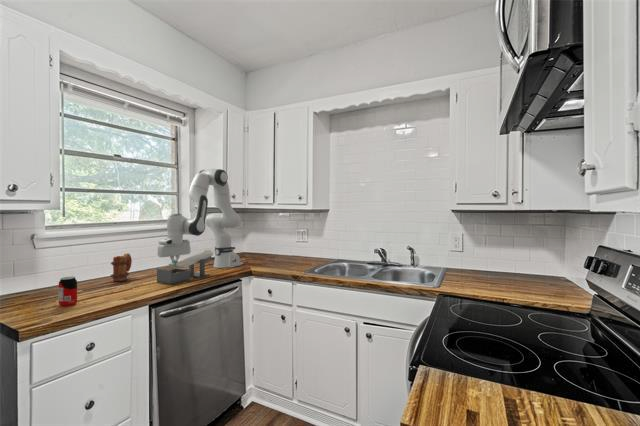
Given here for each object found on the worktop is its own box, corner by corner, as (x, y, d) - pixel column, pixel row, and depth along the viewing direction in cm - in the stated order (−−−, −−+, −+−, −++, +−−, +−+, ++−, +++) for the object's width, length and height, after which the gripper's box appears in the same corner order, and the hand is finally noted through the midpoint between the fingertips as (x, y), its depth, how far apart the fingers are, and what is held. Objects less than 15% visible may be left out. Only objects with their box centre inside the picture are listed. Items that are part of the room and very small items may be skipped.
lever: (198, 257, 211) (196, 248, 209) (214, 259, 203) (212, 250, 202) (169, 270, 192) (166, 260, 191) (185, 272, 184) (183, 262, 183)
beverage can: (76, 305, 138) (76, 278, 138) (58, 308, 134) (57, 280, 134) (77, 301, 143) (77, 275, 143) (59, 304, 139) (59, 277, 139)
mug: (121, 282, 180) (121, 256, 180) (107, 282, 180) (107, 256, 180) (137, 276, 194) (136, 252, 194) (124, 276, 195) (123, 252, 194)
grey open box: (176, 278, 191) (176, 265, 191) (190, 280, 184) (190, 266, 184) (156, 282, 180) (156, 268, 180) (170, 285, 174) (170, 270, 173)
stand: (194, 273, 203) (194, 256, 203) (209, 276, 196) (209, 258, 196) (184, 276, 196) (183, 258, 196) (199, 278, 189) (198, 260, 189)
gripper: (186, 239, 202) (186, 260, 201) (156, 241, 184) (155, 264, 184) (192, 239, 198) (192, 261, 198) (162, 241, 181) (162, 265, 181)
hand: (174, 263), depth 191 cm, fingers closed
